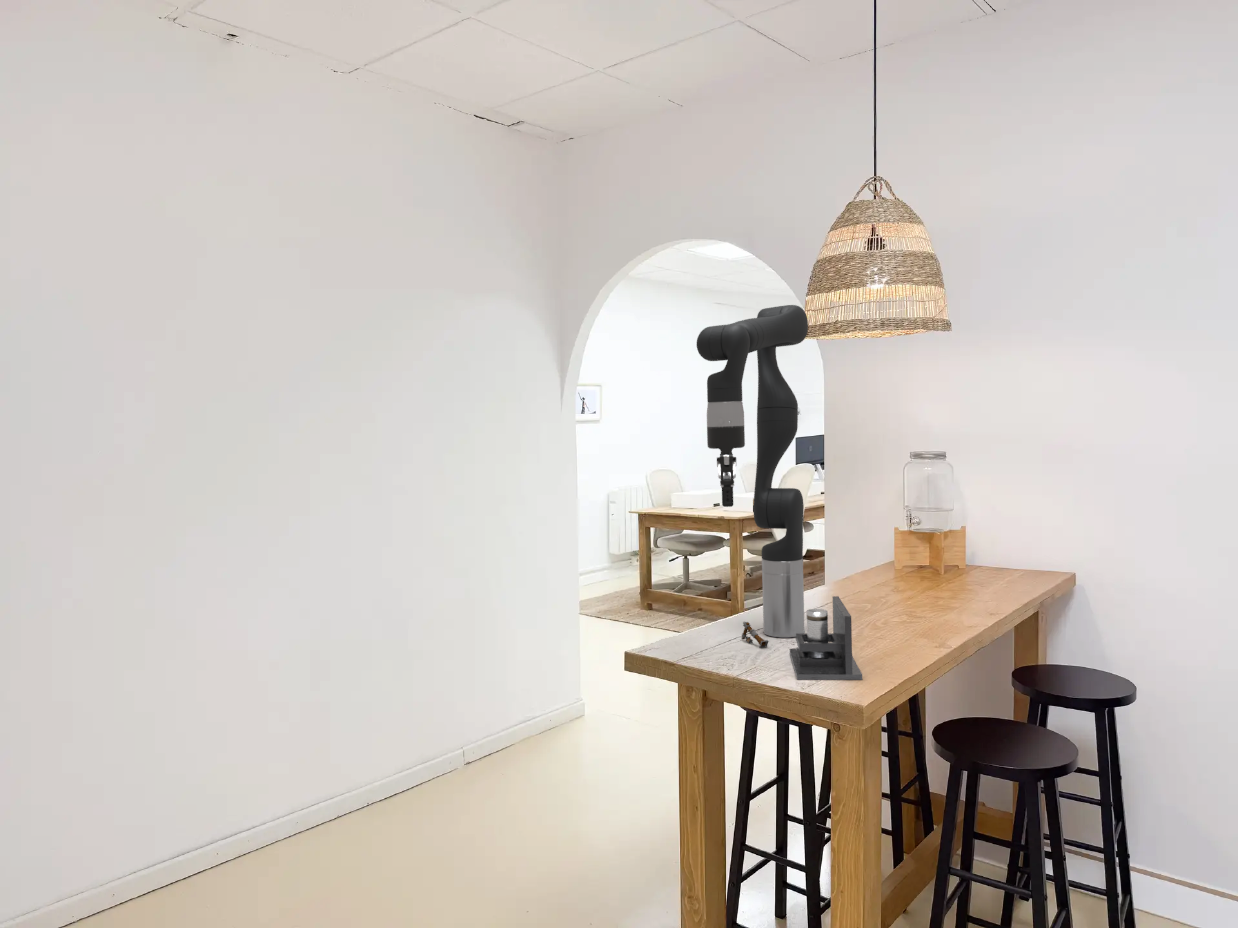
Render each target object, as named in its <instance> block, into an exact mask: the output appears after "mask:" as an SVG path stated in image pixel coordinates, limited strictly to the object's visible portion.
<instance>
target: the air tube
mask: <svg viewBox="0 0 1238 928" xmlns="http://www.w3.org/2000/svg"><path fill="white" fill-rule="evenodd" d="M828 616H829V614H828V610H826V609H822V608H810V609H807V610H806V633H807V642H828V633H829V622H828V621H829V617H828ZM808 658H829V653H828V651H808Z"/></svg>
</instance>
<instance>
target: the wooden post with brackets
mask: <svg viewBox="0 0 1238 928" xmlns="http://www.w3.org/2000/svg"><path fill="white" fill-rule="evenodd" d="M742 624H743V625H742V626H743V627H744V629H743V632H742V634H741V640H745V642H747V644H750V643H753V642H754V640H753V639H755V640H756V642H757V643H758V645H759V649H762V648H767V647H768V643H769V641H770V640H768V639H764V638H762V637H761V636H760V635H759V634H758V632H757V631H756V630H755V629H754V628H753V627H752V625H751V624H750V623H749V622H748V621H743V622H742ZM747 633H749V635H750V636H747ZM751 636H752V638H751ZM753 644H754V643H753Z"/></svg>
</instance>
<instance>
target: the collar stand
mask: <svg viewBox="0 0 1238 928" xmlns="http://www.w3.org/2000/svg"><path fill="white" fill-rule="evenodd" d="M832 631H833V632H832V633H829V632H828V642H807V632H806V633H800V634H796V637H795V641H796V645H797V647H796V648H789V656H790V659H791V663H792V667H793V670H794V673H795V677H796V680H798V681H799V680H800V681H802V680H803V681H805V680H808V681H809V680H810V681H811V680H812V681H813V680H815V681H818V680H819V681H821V680H822V681H825V680H826V681H863V673H862V671H861V670H860V668H859V666H858V664H857V662H856V660H855V659H854V656H853V639H852V637H853V636H852V635H853V633H852V615H851V613H850V612H849V610H848V609H847V607H846V606H845V605H844V603H843V601H842V600H841V598H840V597H839V595H836V596H834V595H833V596H832ZM808 651H828V653H829V658H808Z"/></svg>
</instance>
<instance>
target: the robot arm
mask: <svg viewBox="0 0 1238 928" xmlns="http://www.w3.org/2000/svg"><path fill="white" fill-rule="evenodd" d="M808 330H809V321H808V317H807V314H806V312H805V310H804V309H803V308H802V307H801V306H799V305H796V304H786V305H785V304H784V305H780V306H779V305H778V306H773V307H766V308H765V307H764V308H762V309H760V310H759V311H758V313H757V315H756V317H753V318H747V319H742V320H737V321H734V322H733V323H727V324H720V325H719V324H718V325H711V326H707V327H705V328H703V329H702V330H700V332H699V334H698V336H697V339H696V348H697V349H696V350H697V351H698V354H699V356H700V357H702V358H703V359H704V360H705V361H708V362H720V361H726V365H725V366H724V367H723V369H722V370H720V371H717V372H715V373H711V374H709V376H708V377H707V380H706V381H707V382H706V390H707V394H706V395H707V397H706V399H707V401H706V402H707V407H706V438H707V441H706V442H707V448H708V449H712V450H719V451H720V454H719V457H718V456H717V457H716V467H717V475H718V476H717V477H718V479H720V481H719V482H720V483H719V484H720V488H721V503H722V504H721V505H722V507H726V508H728V507H729V508H731V507H733V506H734V486H735V479H736V476H737V475H736V471H737V470H736V467H737V457H736V456H734V454H733V449H741V448H744V447H745V445H746V443H745V442H746V439H745V437H746V436H745V411H744V405H743V404H744V403H743V378H744V373H745V370H746V369H745V368H746V363H747V359H748V355H749V354H751V353H753V352H756V355H757V356H756V357H757V406H756V469H755V470H756V471H755V481H754V492H753V510H752V511H753V518H754V519H753V520H754V523H755V524H756V526H757V527H758V528H760V529H776V530H778V529H779V530H780V529H781V530H785V535H784V536H783V537H782V538H780V539H778V540H777V541H776V540H775V541H773V542H769V543H767V544H764V545H763V546H762V548H761V575H762V576H761V578H762V579H761V580H762V615H763V616H762V617H763V619H762V620H763V621H762V622H763V623H762V624H763V635H767V636H768V637H774V638H796V634H800V633H805V599H804V596H805V593H804V589H805V588H804V558H803V557H804V556H803V555H804V552H803V550H804V498H803V494H802V492H801V490H800V489H798V488H794V487H792V488H791V487H783V488H782V487H781V488H780V487H777V488H775V487H772V486H773V485H772V484H773V478H774V475H775V472H776V468H777V466H778V465H779V463H780V461H781V459H782V458H783V456H784V455H785V453H786V452H787V451H788V450H789V447H790V446H791V444H792V443H793V441H794V439H795V437H796V434H797V432H798V427H799V426H798V423H799V422H798V420H799V419H798V418H799V416H798V415H799V413H798V412H799V407H798V406H799V405H798V404H799V403H798V400H797V398H796V395H795V394H794V392H793V390H792V388H791V387H790V385H789V384H788V382H787V381H786V379H785V378H784V375H783V374H782V372H781V370H780V368H779V365H778V361H777V348H778V347H779V348H781V347H789V346H795V345H798V344H801V343H802V342H803V341H804V340H805V339H806V337H807V335H808Z"/></svg>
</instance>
